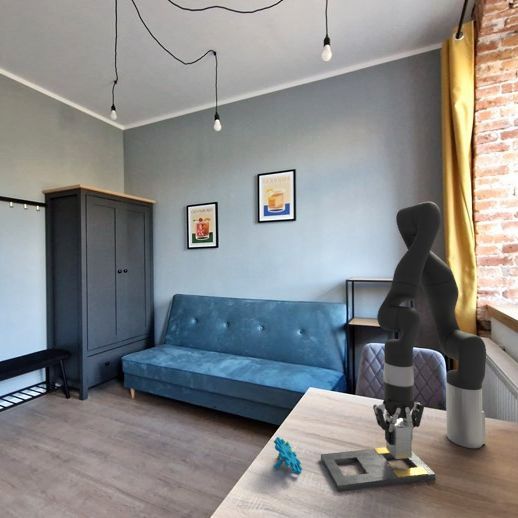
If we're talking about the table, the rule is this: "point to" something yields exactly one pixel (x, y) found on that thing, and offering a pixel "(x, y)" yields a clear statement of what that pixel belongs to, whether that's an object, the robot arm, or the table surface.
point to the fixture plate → (373, 469)
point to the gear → (287, 456)
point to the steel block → (401, 440)
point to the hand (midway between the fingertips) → (398, 442)
